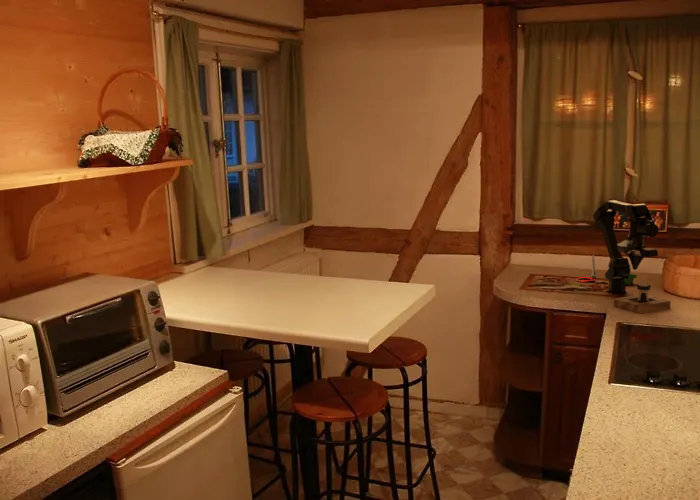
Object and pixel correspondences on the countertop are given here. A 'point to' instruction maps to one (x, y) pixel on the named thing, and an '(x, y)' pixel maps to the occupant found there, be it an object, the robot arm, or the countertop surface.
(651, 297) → the holder block
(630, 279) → the clamp
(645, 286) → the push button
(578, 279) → the red grey looped piece
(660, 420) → the countertop surface
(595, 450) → the countertop surface
